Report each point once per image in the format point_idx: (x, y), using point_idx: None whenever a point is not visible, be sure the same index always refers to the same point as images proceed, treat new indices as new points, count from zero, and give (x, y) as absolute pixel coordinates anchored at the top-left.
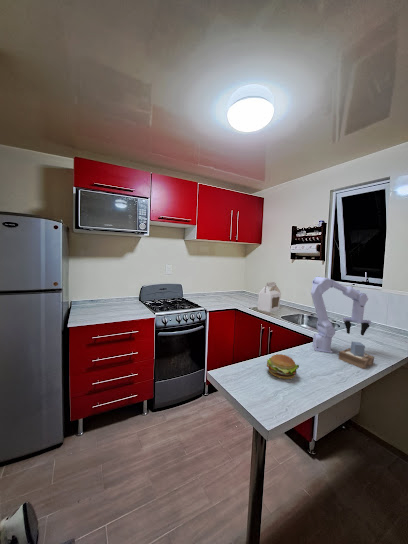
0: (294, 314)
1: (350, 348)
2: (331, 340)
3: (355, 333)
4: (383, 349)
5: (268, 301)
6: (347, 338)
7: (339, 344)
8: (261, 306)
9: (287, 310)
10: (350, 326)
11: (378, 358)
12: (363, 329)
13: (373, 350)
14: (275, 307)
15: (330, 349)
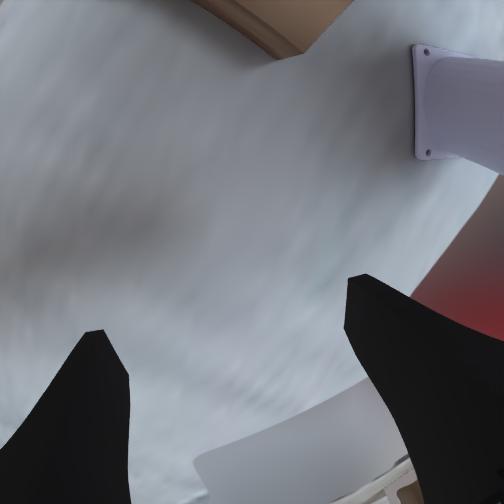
0: (353, 491)
1: (299, 41)
2: (498, 92)
3: (151, 483)
4: (3, 365)
5: None
6: (198, 431)
7: (290, 302)
8: None
9: (359, 498)
10: (472, 378)
11: (11, 138)
12: (75, 447)
13: (40, 318)
14: (408, 482)
15: (420, 104)
